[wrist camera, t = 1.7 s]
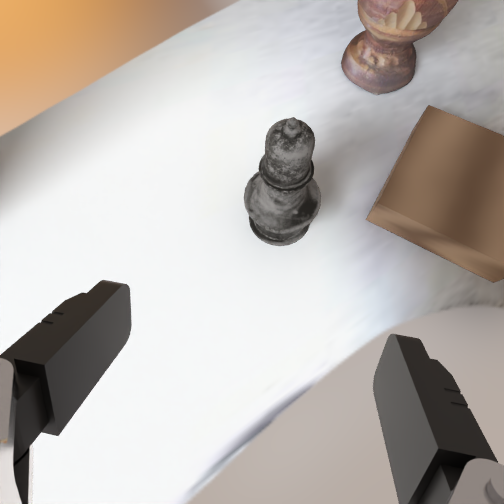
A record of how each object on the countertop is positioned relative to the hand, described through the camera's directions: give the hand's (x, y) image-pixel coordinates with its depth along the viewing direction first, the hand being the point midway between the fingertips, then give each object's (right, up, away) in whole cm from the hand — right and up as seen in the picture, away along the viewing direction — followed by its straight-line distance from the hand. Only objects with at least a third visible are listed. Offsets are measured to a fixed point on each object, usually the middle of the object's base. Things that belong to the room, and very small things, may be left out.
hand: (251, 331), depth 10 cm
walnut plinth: (+17, +7, +19) cm, 27 cm away
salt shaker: (+2, +5, +19) cm, 20 cm away
